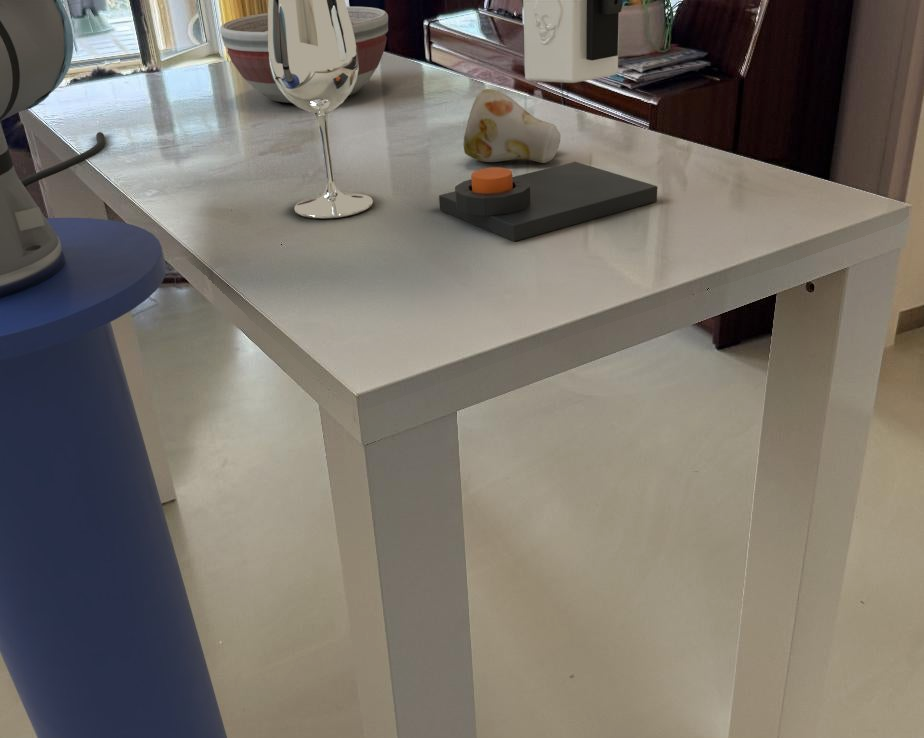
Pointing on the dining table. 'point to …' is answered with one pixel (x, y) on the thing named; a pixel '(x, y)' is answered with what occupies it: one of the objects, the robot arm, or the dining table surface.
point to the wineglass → (316, 81)
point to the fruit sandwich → (507, 131)
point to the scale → (548, 200)
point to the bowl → (252, 52)
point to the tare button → (491, 180)
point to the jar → (560, 43)
